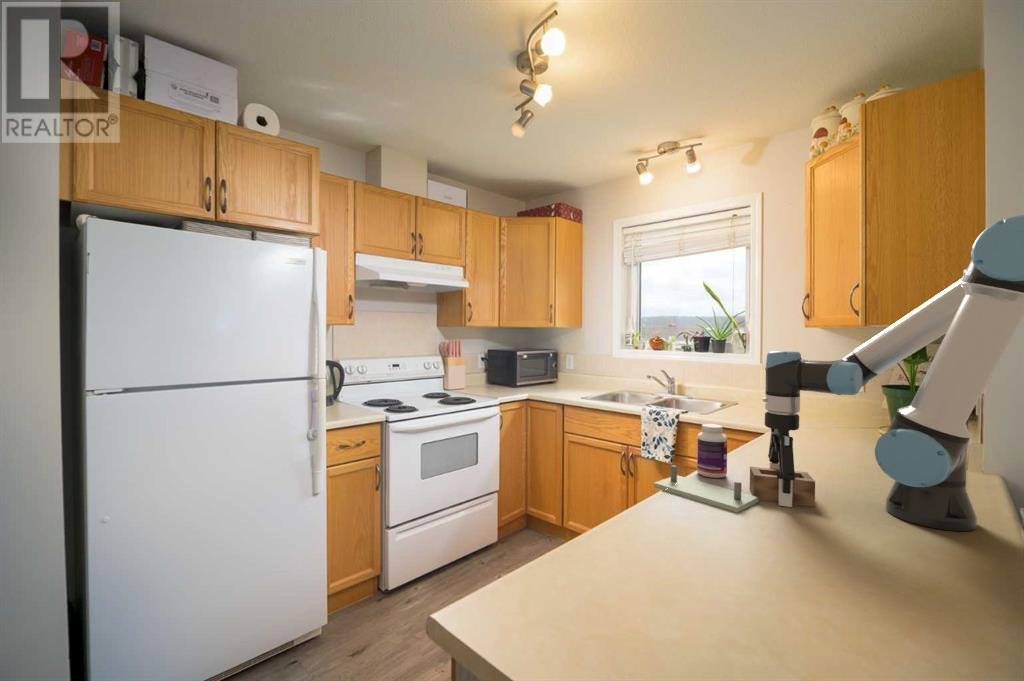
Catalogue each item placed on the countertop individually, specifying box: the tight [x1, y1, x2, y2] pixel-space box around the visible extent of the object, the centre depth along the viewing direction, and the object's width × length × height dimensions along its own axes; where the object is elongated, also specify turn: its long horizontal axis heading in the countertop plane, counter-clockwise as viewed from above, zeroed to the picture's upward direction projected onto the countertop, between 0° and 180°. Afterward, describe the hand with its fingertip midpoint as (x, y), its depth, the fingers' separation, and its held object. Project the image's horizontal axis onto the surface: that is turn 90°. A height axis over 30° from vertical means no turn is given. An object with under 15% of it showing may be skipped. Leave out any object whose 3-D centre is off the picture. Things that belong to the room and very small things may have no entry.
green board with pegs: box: [653, 465, 759, 514], centre depth 117 cm, size 22×11×5 cm, turn 39°
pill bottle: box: [696, 423, 728, 479], centre depth 133 cm, size 8×8×14 cm
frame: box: [749, 466, 816, 507], centre depth 115 cm, size 13×8×6 cm, turn 69°
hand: (779, 496), depth 116 cm, fingers open, 13 cm apart
